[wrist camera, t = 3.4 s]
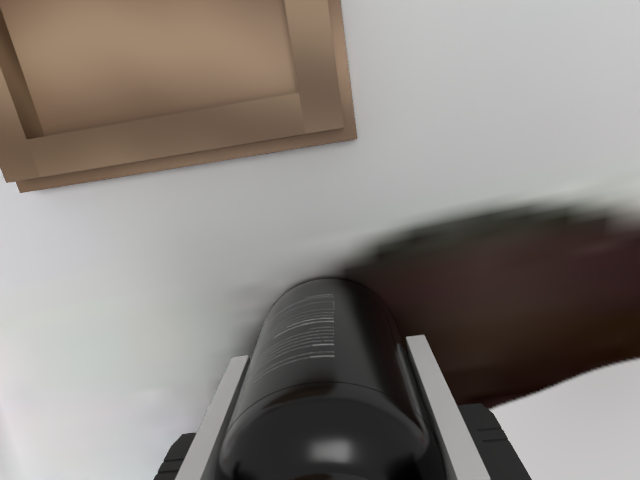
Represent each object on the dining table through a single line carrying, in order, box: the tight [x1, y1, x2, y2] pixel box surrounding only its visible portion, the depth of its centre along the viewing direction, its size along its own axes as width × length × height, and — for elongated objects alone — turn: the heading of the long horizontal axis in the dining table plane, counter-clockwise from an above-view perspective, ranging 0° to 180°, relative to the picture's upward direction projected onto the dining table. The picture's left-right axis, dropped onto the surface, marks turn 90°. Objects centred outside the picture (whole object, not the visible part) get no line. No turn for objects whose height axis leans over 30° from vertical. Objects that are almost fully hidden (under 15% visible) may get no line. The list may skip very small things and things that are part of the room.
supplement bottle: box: [214, 279, 447, 480], centre depth 13 cm, size 7×7×12 cm
